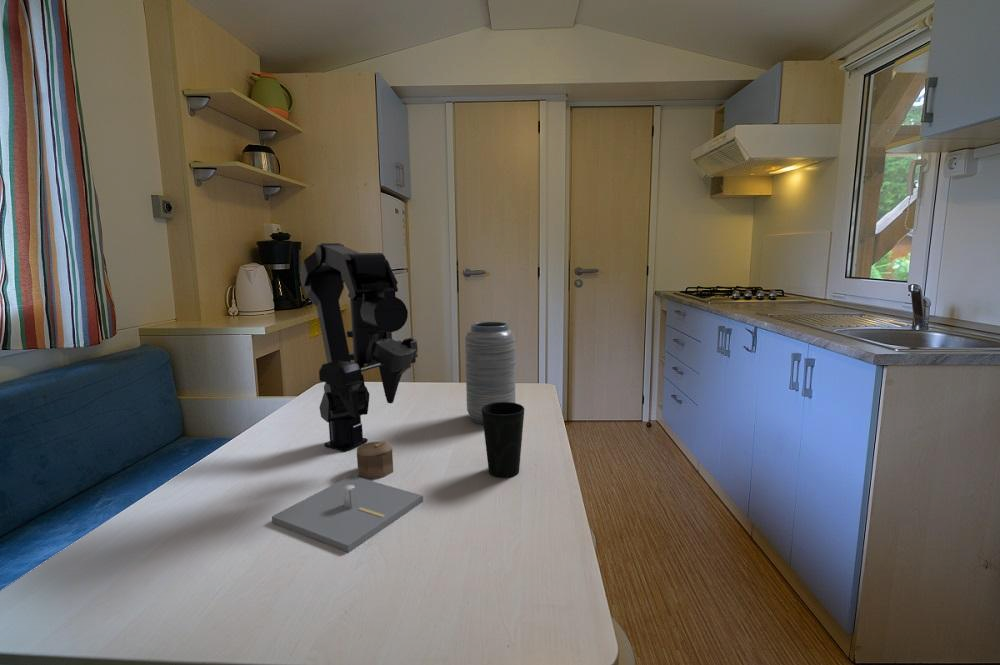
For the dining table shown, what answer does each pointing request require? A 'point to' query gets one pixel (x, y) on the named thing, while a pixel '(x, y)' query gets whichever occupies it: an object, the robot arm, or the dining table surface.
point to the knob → (375, 460)
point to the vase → (489, 366)
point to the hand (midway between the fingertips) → (373, 409)
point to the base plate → (348, 512)
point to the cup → (503, 437)
